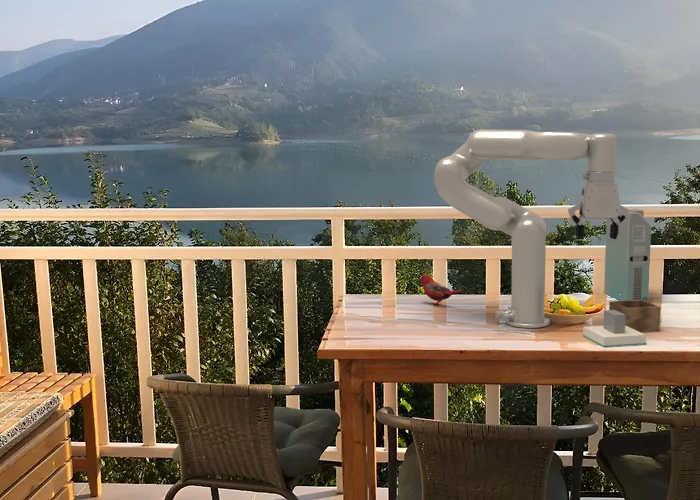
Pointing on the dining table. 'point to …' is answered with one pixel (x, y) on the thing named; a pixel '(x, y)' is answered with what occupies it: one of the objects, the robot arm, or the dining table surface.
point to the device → (628, 258)
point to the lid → (614, 331)
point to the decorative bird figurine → (435, 289)
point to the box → (638, 314)
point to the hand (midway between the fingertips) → (596, 238)
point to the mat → (610, 345)
